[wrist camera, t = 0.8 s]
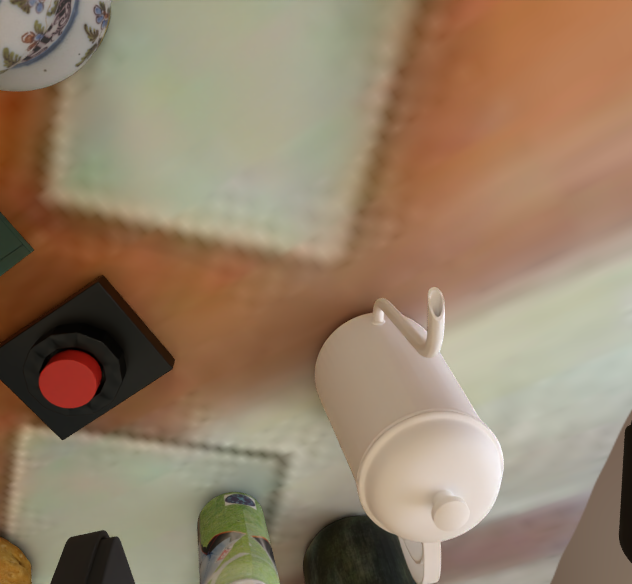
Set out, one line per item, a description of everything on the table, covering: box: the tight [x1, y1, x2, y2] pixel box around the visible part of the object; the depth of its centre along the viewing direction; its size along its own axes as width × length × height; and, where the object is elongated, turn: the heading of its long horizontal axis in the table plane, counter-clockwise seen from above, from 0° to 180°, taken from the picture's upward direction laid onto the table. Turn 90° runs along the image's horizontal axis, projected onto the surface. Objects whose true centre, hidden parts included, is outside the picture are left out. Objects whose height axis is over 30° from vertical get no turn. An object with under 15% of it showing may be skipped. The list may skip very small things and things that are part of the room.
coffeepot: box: [315, 287, 504, 584], centre depth 39 cm, size 11×25×19 cm, turn 5°
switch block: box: [0, 275, 175, 440], centre depth 43 cm, size 11×9×4 cm
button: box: [39, 350, 102, 408], centre depth 41 cm, size 4×4×2 cm
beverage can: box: [197, 492, 280, 584], centre depth 46 cm, size 6×7×12 cm
